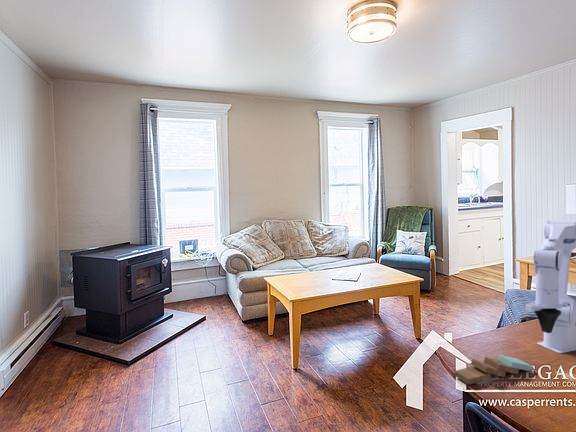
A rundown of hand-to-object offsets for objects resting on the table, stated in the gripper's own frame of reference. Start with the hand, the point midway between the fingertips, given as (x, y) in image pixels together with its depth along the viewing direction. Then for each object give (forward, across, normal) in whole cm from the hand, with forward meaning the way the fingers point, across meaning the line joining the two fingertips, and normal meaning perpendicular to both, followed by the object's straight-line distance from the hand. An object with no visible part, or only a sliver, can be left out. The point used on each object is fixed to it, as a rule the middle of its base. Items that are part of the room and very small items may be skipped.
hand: (546, 331), depth 106 cm
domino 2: (+10, -18, +1) cm, 21 cm away
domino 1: (+9, -24, 0) cm, 25 cm away
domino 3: (+10, -13, +1) cm, 16 cm away
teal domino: (+10, -8, +1) cm, 12 cm away
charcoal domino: (+11, -21, 0) cm, 23 cm away
